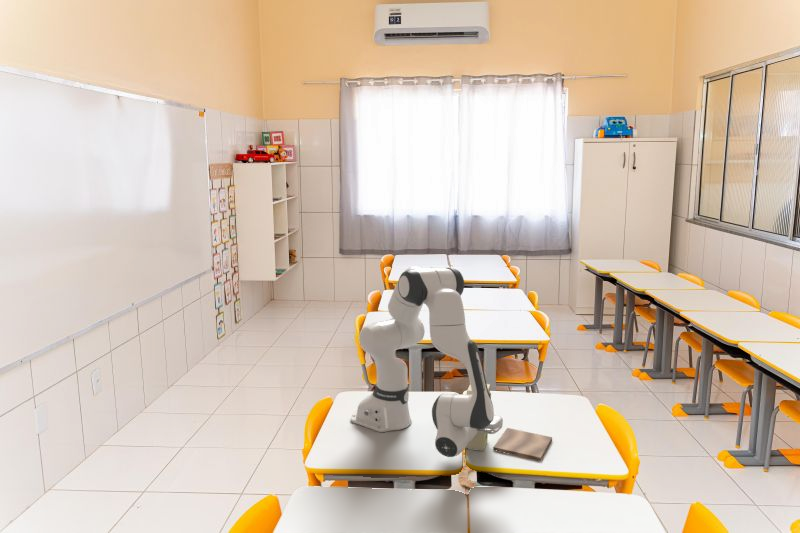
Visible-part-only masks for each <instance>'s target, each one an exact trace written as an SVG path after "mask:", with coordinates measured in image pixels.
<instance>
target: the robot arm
mask: <svg viewBox="0 0 800 533" xmlns="http://www.w3.org/2000/svg"><path fill="white" fill-rule="evenodd" d="M464 290H465V280H464V276H463V275H462V273H461V272H460V271H459V269H456V268H452V267H445V268H444V267H427V268H422V267H419V266H416V265H415V266H409V267H408V268H406V269H405V270H404V271H403V272H402V273H401V274H400V276H399V278H398V281H397V282H396V285H395V286H394V289H393V292H392V294H391V296H390V298H389V301H388V303H387V309H388V313H389V315H390V317H392V318H390V319H386V320H381V321H376V322H372V323H371V324H368V325H366V326H364V327H362V328H361V330H360V332H359V335H358V336H359V337H358V341H359V346H360V347H361V349H362V350H363V351H364V352H365V353H367V354H368V355H369V356H370V357H371V358H372V359H373V361H374V363H375V367H376V368H375V369H376V382H375V384H373V385H372V387H370V392H372V393H370V394H369V395H367V396H366V397H365V398H363V399H362V400H361V401H360V402H359V404H358V406H357V409H356V411H355V412H354V413H352V414H351V417H350V422H351V423H354V424H356V425H360V426H362V427H365V428H368V429H370V430H373V431H375V432H379V433H384V432H385V433H386V432H389V431H399V430H403V429H406V428H408V427H410V426H411V424H412V418H411V414H410V409H409V397H410V396H409V394H410V393H409V385H408V366H407V364H406V362H405V361H404V360H403V359H401V358H398V357H397V354H396V351H397V350H401V349H404V348H410V347H412V346H414V345H415V346H416V345H417V344H419V343H421V342H422V341H423V340H424V337H425V333H426V331H425V325H424V323H423V322H422V321H421V319H420V318H419V315H420V312H421V310H422V307H423V305H426V307H427V308H428V311H429V312H428V313H429V314H428V315H429V317H428V318H429V320H428V321H429V336H430V341H431V343H432V345H433V346H434V347H435V349H437V351H439V352H441V353H442V354H444V355H447V356H449V357H451V358H454V359H456V360H458V361H459V362H460V363H462V364H463V365H464V366H465V368H466V371H467V376H468V380H469V386H470V385H471V389H472V395H467V394H464V393H463V394H461V393H460V394H458V393H441V394H439V395H438V396H437V398H436V399H435V400H434V402H433V404H432V407H431V417H432V422H433V425H434V427H435V429H436V430H437V432H436V437H435V439H434V444H435V449H436V451H437V452H438V453H439V454H440V455H443V456H444V457H448V458H454V457H457V456H458V455H460V454H461V453H462V452H464V450H465V449H467V448H466V447H467V445H468V444H469V442H470V441H471V440H472V439H473V438H474V437H475V435H476V434H477V433H478V432H483V433H487V434H488V435H495V434H496V433H498V432H499V431H500V430H501V429H502V428H503V424H504V423H503V422H504V420H503V417H502V416H500V415H496V414H495V413H494V412H495V411H494V404H493V401H492V397H491V398H490V395H489V392H488V388H487V384H488V383H487V379H486V375H485V370H484V367H483V363H482V362H483V361H482V357H481V355H480V354H481V353H480V350H479V347H478V345H477V343H476V342H474V341H473V340H472V339H471V337H470V336H469V334H468V331H467V328H466V326H467V325H466V315H465V310H464V304H463V303H464V302H463V301H462V297H461V296H462V295H463V293H464Z"/></svg>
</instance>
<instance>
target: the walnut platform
mask: <svg viewBox="0 0 800 533" xmlns="http://www.w3.org/2000/svg"><path fill="white" fill-rule="evenodd" d="M552 441H553V437H552V436H548V435H543V434H539V433H533V432H528V431H523V430H520V429H514V428H509V427H507V428H506V429H505V430H504V431H503V433H502V434H501V436H500V437H499V438H498V440H497V442H496V443H495V444H494V445H493V447H492V448H493V449H492V450H493V451H494V450H497V451H496V452H498V451H501V452H500V453H503V452H505V453H504V454H507V453H509V455H512V456H516V457H519V458H520V457H521V458H525V459H530V460H535V461H538V462H539V461H540V462H541V461H542V459H543V457H544V456H545V454H546V452H547V450H548V449H549V447H550V444H551V443H552Z"/></svg>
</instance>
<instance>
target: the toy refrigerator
mask: <svg viewBox="0 0 800 533" xmlns="http://www.w3.org/2000/svg"><path fill="white" fill-rule="evenodd" d="M487 388H488V392H489V395H490V398H491V399H492V392H491V384H490V383H487ZM466 395H472V389H471V385H470V384H469V386H468V388H467V390H466ZM488 435H489V434H487V433H483V432H478V433H477V434H476V435H475V437H474V438H473V439H472V440H471V441H470V442H469V444H468V445H467V447H466V448H465V449H467V448H468V450H473V449H477V450H476V451H479V450H484V451H485V448H486V446H487V443H488ZM486 442H487V443H486ZM485 445H486V446H485Z"/></svg>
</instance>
